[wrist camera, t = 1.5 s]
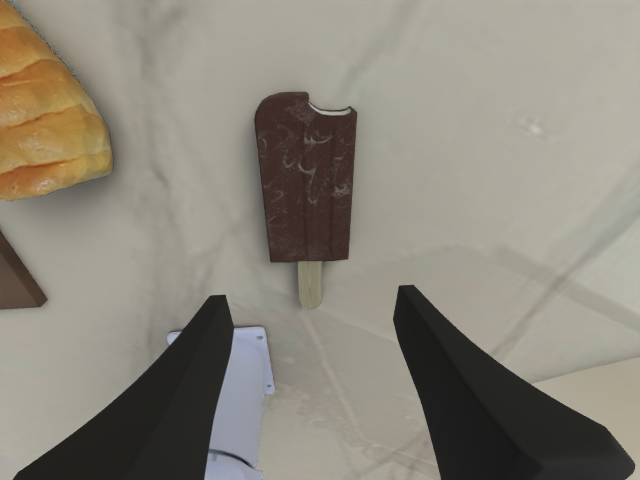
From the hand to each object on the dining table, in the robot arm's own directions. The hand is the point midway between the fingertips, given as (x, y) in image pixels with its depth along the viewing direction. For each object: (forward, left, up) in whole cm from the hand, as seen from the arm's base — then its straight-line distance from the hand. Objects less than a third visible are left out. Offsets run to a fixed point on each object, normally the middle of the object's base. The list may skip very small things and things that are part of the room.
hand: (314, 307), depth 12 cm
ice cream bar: (0, 0, -9) cm, 9 cm away
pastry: (+7, +14, -9) cm, 18 cm away
